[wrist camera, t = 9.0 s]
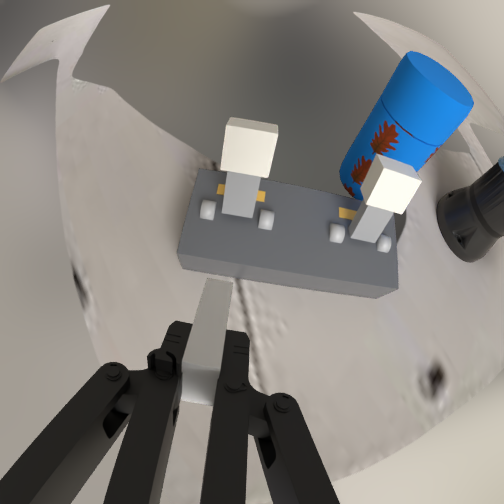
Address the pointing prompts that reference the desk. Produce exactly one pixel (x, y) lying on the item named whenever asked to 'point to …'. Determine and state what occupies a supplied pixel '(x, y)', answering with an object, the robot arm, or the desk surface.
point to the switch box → (286, 240)
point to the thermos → (408, 119)
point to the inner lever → (383, 196)
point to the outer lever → (246, 163)
